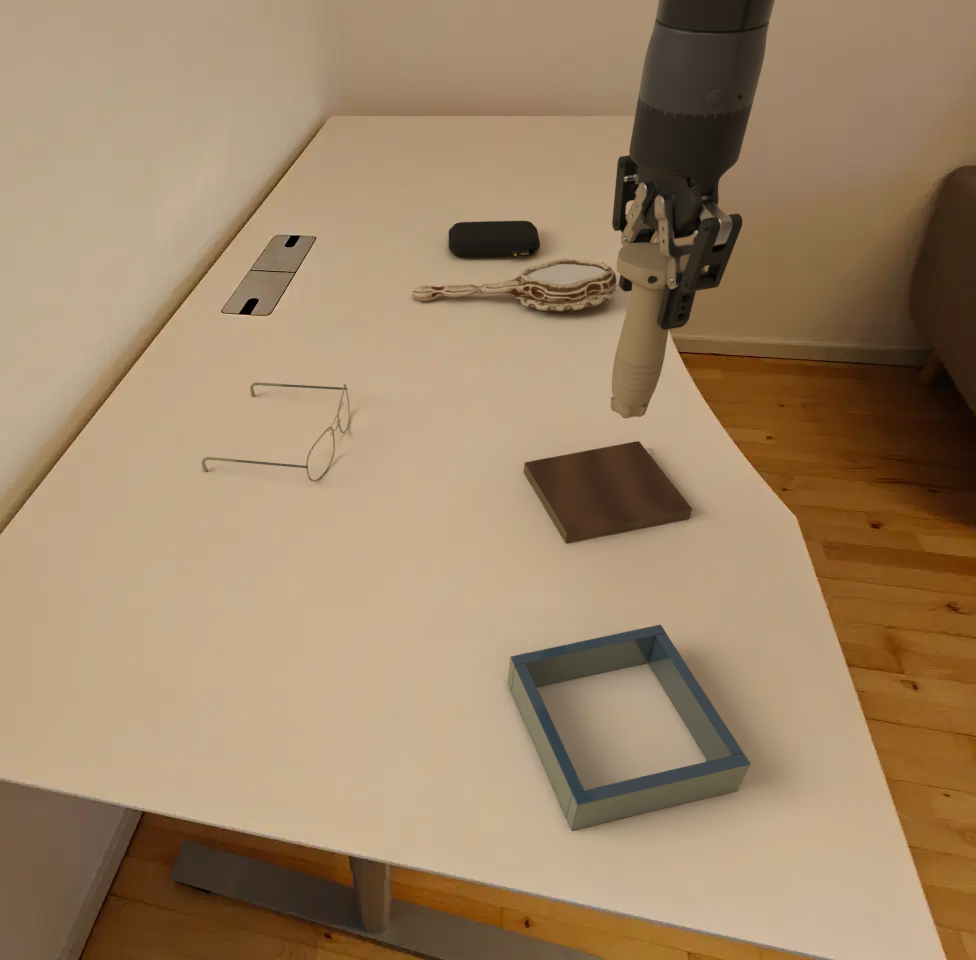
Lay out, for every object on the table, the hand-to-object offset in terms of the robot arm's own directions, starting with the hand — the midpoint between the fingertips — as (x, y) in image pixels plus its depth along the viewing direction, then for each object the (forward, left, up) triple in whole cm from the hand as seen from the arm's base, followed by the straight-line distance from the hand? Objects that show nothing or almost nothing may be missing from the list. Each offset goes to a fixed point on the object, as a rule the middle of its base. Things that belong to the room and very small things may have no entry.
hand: (650, 305), depth 69 cm
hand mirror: (-9, -51, -28) cm, 59 cm away
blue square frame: (+9, +21, -28) cm, 36 cm away
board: (-3, -7, -28) cm, 29 cm away
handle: (0, 0, -11) cm, 11 cm away
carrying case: (-12, -68, -28) cm, 75 cm away
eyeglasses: (+30, -27, -28) cm, 49 cm away
